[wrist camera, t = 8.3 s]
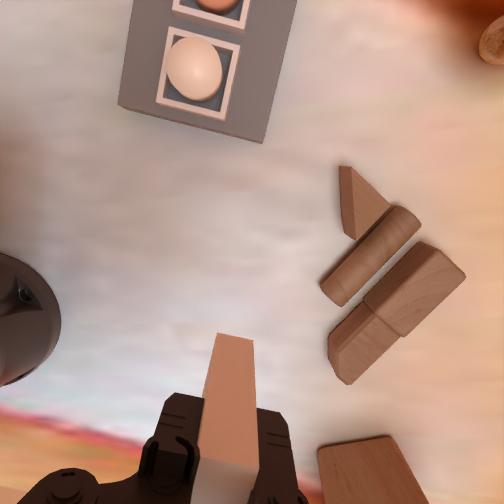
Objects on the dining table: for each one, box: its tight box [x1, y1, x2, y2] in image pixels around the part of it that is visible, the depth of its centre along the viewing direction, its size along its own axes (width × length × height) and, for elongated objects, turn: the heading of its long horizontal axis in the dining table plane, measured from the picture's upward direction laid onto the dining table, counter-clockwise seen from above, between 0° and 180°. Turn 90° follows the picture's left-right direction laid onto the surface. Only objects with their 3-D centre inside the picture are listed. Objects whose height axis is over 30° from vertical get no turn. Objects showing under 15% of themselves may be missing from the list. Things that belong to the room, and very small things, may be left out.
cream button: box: [166, 37, 223, 102], centre depth 31 cm, size 4×4×3 cm
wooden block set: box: [320, 166, 466, 385], centre depth 40 cm, size 17×6×18 cm
